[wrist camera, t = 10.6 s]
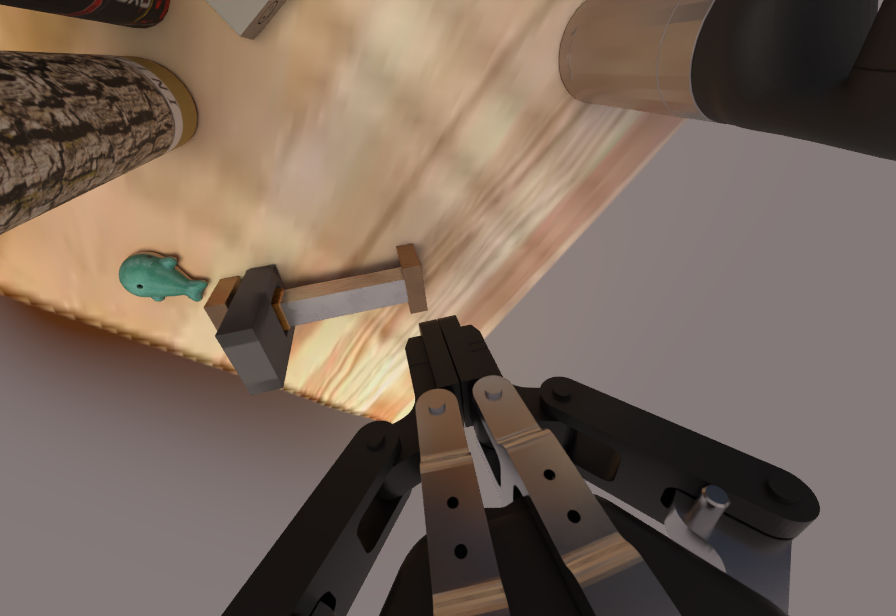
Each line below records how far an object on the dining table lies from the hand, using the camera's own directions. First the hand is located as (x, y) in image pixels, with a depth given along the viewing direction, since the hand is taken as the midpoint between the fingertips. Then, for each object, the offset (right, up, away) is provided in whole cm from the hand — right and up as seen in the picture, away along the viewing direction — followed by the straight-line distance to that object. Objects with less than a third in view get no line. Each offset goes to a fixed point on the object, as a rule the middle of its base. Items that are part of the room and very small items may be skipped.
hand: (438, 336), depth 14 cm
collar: (-20, +3, +28) cm, 35 cm away
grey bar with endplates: (-14, +4, +29) cm, 33 cm away
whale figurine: (-30, +5, +25) cm, 39 cm away
